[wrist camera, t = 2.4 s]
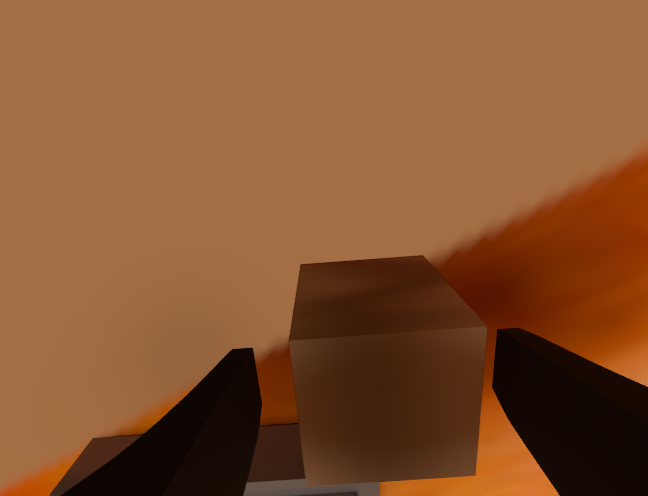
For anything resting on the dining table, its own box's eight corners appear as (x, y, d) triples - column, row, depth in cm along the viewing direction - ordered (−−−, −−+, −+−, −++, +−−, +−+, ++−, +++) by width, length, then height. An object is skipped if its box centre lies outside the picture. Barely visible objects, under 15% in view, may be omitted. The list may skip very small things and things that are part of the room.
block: (422, 255, 12) (487, 326, 8) (421, 359, 14) (475, 475, 9) (300, 264, 12) (288, 340, 8) (311, 367, 14) (306, 487, 9)
